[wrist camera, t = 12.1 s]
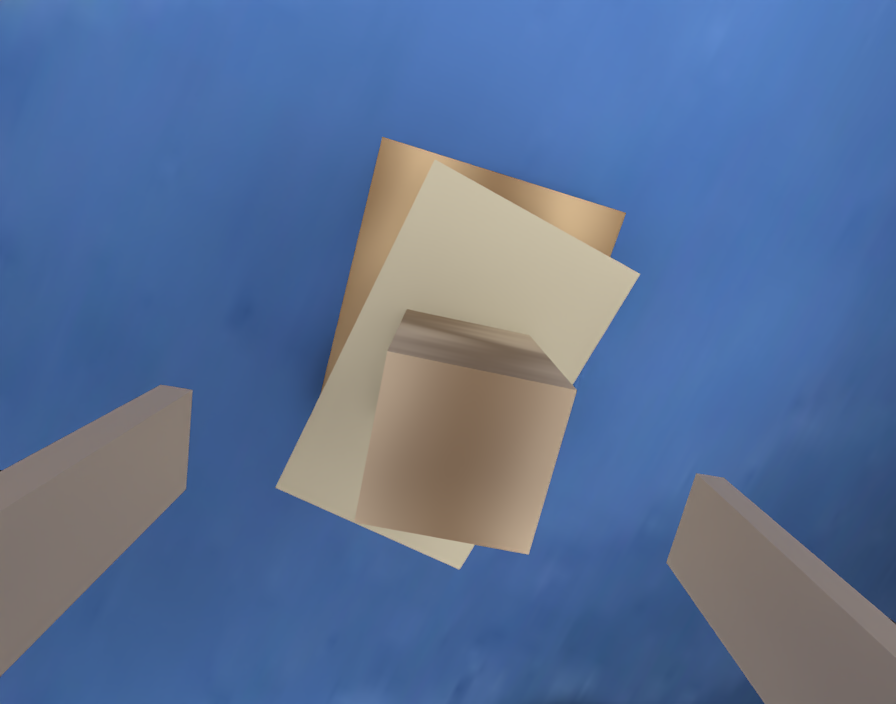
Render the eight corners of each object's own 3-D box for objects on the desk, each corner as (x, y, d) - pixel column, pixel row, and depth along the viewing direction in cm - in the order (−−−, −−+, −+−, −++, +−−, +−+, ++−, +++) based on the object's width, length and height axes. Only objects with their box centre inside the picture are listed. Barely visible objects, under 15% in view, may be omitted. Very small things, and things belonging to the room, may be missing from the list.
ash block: (383, 425, 20) (354, 522, 13) (406, 308, 19) (387, 350, 12) (499, 447, 20) (528, 554, 14) (529, 335, 19) (576, 390, 13)
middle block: (307, 439, 26) (275, 487, 21) (436, 175, 23) (434, 159, 18) (456, 508, 27) (459, 569, 22) (599, 265, 24) (640, 273, 19)
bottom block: (322, 440, 31) (300, 479, 26) (393, 154, 27) (382, 136, 22) (499, 487, 32) (509, 532, 27) (594, 216, 28) (625, 212, 23)
